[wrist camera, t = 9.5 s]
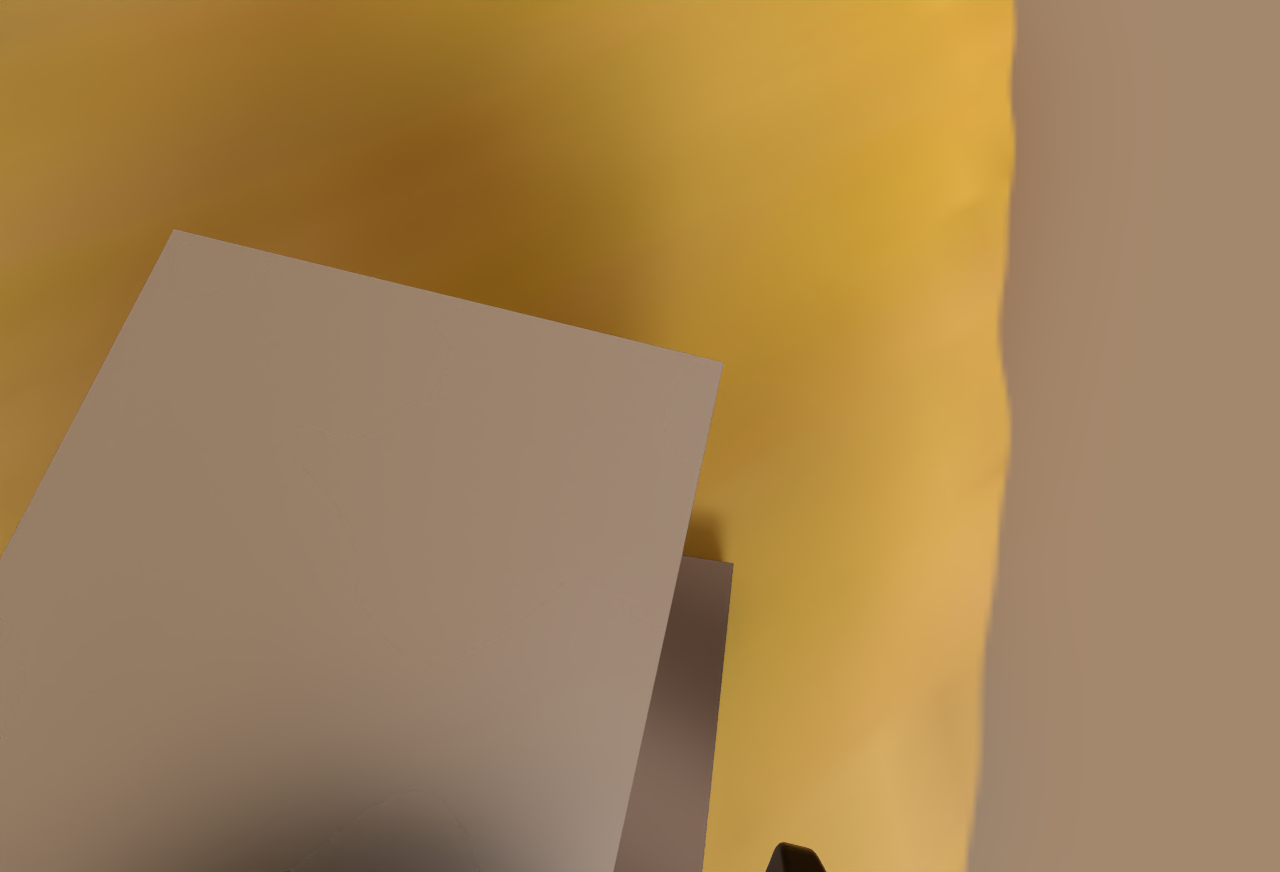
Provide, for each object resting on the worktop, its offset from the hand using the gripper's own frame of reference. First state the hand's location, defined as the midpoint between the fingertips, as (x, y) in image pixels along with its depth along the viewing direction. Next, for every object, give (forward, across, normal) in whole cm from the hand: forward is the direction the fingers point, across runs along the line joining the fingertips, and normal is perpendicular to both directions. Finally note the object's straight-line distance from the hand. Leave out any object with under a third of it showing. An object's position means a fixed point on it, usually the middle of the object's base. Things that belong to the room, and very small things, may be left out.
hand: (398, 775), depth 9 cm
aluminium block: (+8, 0, +5) cm, 9 cm away
